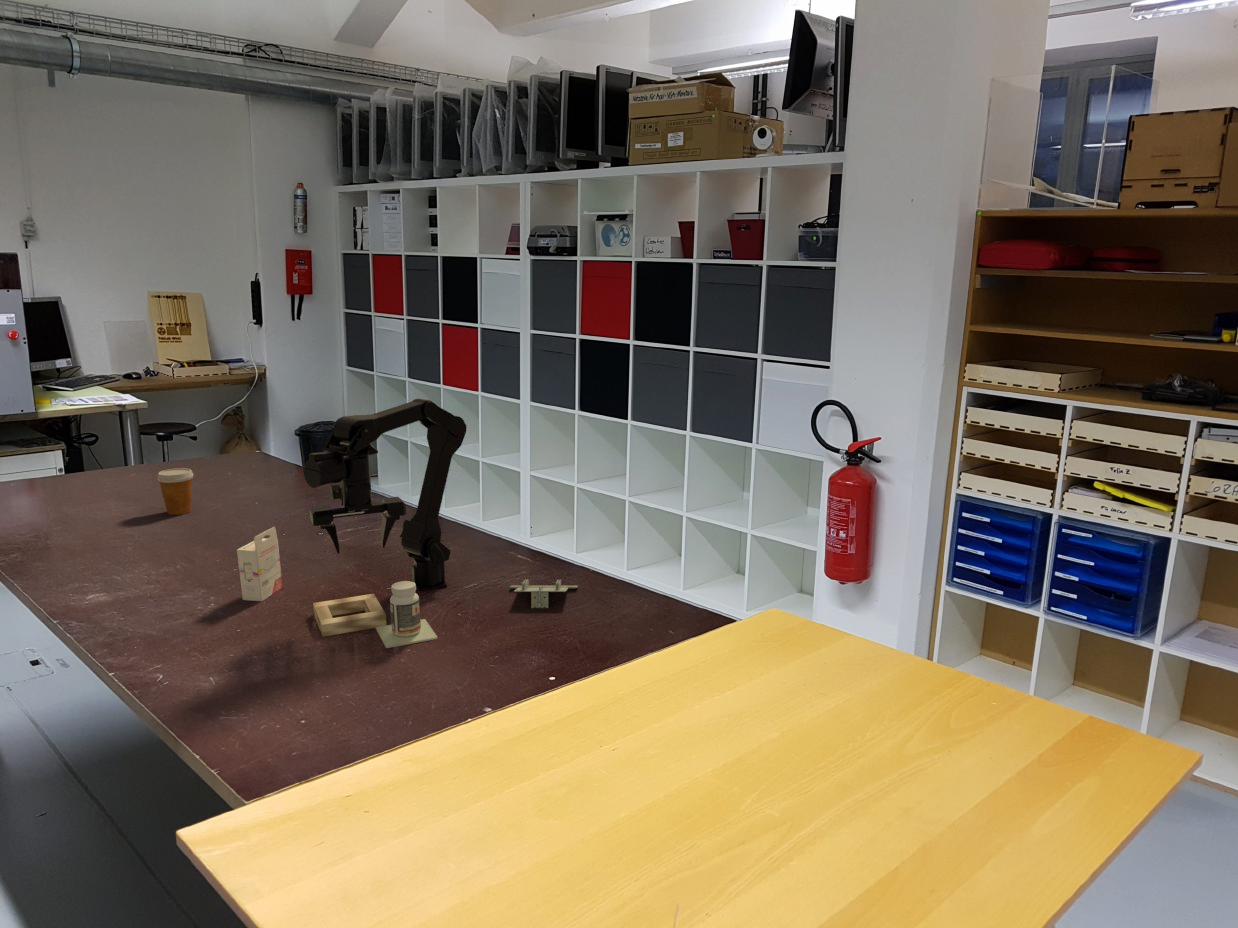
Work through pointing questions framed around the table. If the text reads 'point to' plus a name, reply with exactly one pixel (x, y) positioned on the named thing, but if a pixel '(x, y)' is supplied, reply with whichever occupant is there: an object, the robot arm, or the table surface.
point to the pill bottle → (405, 609)
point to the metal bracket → (540, 592)
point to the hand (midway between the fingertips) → (360, 550)
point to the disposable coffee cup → (176, 490)
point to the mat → (393, 640)
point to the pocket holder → (352, 622)
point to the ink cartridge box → (260, 567)
